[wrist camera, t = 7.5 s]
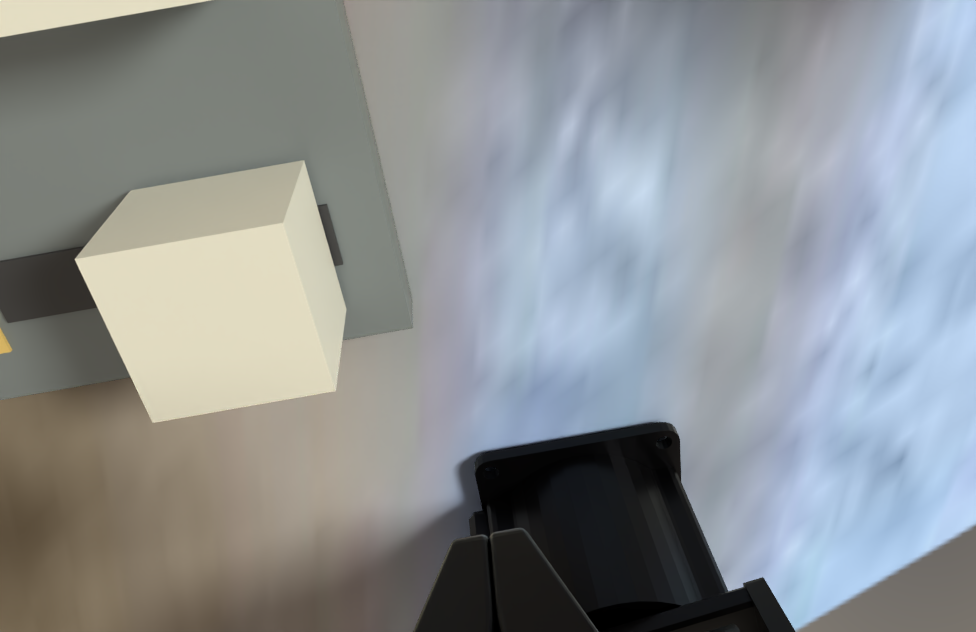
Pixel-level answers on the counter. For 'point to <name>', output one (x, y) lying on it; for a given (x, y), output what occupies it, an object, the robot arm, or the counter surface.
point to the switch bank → (176, 159)
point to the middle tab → (71, 12)
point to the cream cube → (220, 291)
